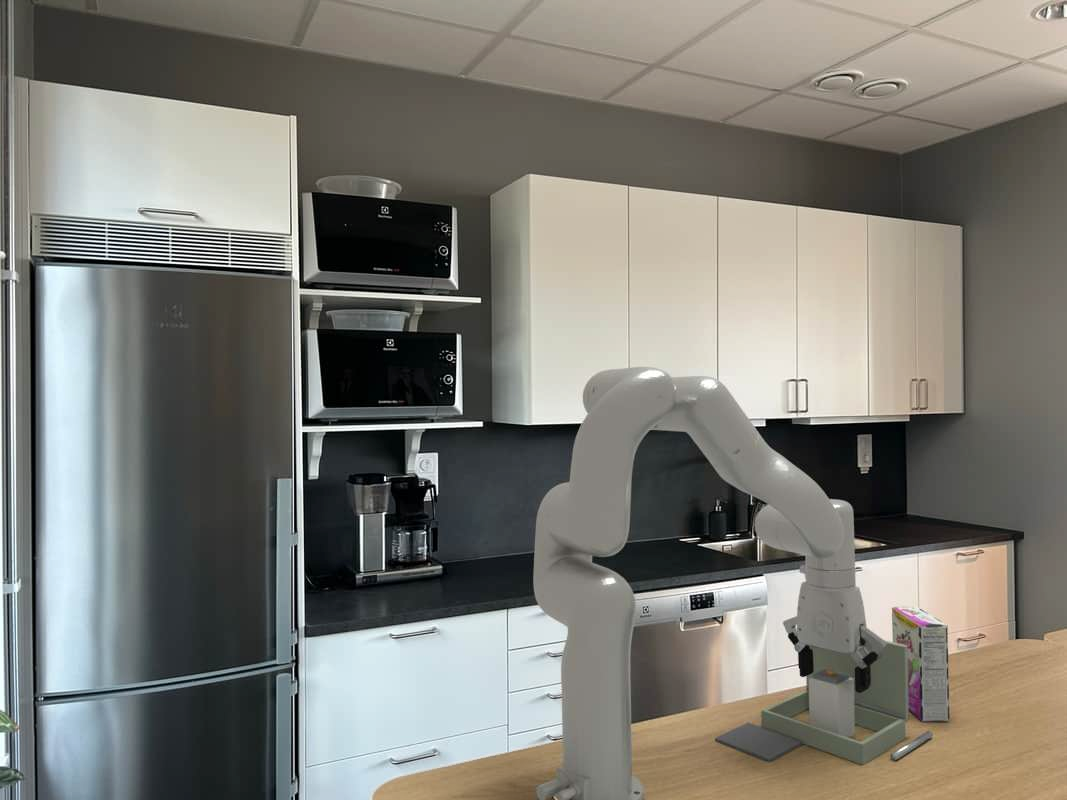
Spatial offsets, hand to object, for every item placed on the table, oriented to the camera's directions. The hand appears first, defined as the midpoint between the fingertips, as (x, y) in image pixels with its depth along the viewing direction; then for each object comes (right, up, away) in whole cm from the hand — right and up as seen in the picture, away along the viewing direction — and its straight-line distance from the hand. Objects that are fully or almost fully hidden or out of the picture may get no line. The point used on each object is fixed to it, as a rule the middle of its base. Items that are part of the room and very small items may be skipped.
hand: (833, 682), depth 129 cm
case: (0, -8, 0) cm, 8 cm away
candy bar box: (+18, -8, +9) cm, 22 cm away
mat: (-13, -8, -3) cm, 16 cm away
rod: (+10, -8, -6) cm, 14 cm away
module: (0, -8, 0) cm, 8 cm away
